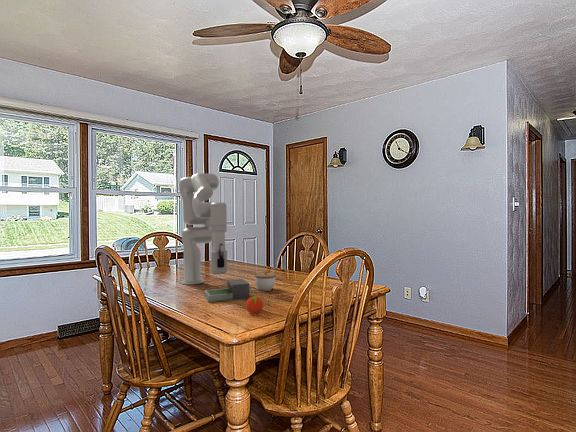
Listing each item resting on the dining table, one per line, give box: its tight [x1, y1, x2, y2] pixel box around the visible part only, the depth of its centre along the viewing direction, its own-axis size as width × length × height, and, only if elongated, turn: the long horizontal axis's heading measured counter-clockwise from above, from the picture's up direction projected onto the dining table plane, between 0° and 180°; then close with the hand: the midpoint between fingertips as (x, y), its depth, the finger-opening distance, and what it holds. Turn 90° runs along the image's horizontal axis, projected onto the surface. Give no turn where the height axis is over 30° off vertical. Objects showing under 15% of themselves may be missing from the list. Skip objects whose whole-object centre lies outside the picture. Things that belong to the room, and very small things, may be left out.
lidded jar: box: [254, 270, 277, 292], centre depth 188 cm, size 11×11×9 cm
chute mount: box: [203, 278, 250, 303], centre depth 171 cm, size 12×19×7 cm, turn 112°
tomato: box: [245, 295, 264, 315], centre depth 144 cm, size 8×7×7 cm
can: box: [210, 247, 228, 275], centre depth 170 cm, size 8×8×12 cm
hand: (219, 265), depth 170 cm, fingers closed on can, 7 cm apart
